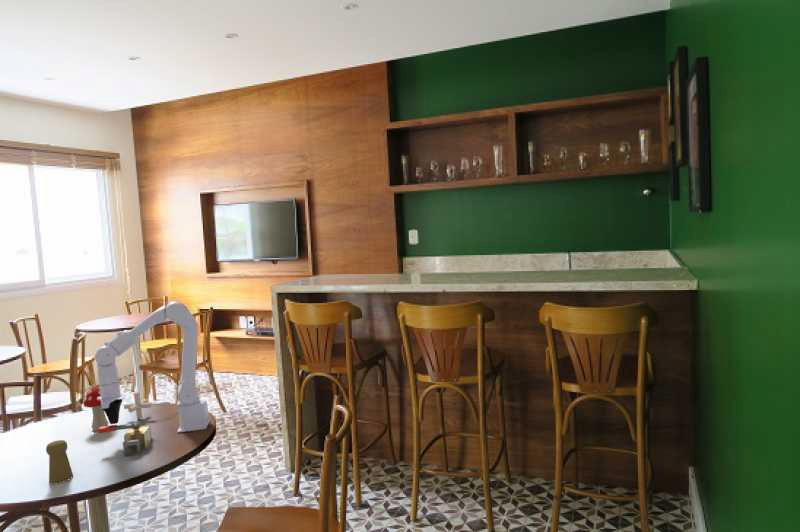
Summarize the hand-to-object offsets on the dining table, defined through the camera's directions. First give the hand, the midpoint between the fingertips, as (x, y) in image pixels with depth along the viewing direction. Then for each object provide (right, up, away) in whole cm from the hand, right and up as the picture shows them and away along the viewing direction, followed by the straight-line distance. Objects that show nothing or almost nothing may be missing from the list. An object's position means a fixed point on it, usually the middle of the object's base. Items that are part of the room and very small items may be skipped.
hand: (114, 423), depth 187 cm
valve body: (+10, -7, -4) cm, 12 cm away
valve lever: (+5, -1, -5) cm, 7 cm away
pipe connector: (-3, -5, +24) cm, 25 cm away
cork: (-3, -10, -24) cm, 26 cm away
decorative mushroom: (-14, -7, +18) cm, 23 cm away
